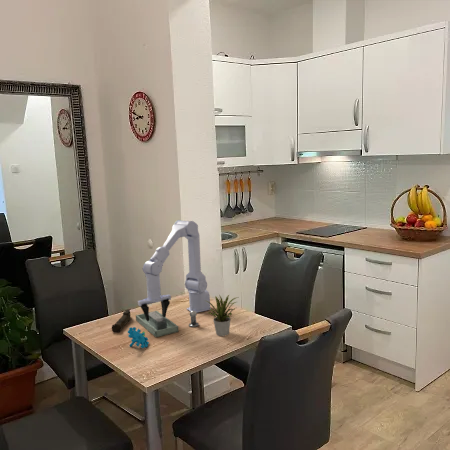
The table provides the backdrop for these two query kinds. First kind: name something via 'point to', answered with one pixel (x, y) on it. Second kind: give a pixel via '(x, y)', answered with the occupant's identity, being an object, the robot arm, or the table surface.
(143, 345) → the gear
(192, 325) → the stud post
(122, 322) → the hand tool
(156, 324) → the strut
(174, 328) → the bin tray
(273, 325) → the table surface
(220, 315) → the house plant
